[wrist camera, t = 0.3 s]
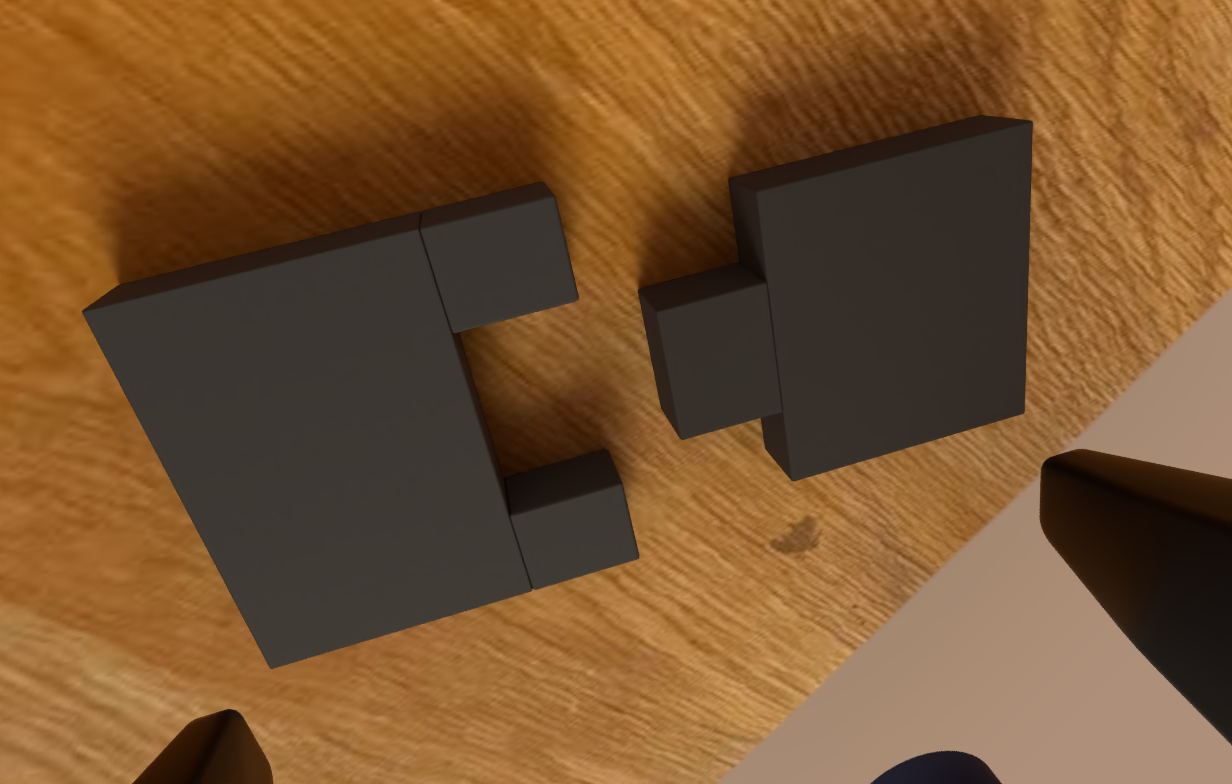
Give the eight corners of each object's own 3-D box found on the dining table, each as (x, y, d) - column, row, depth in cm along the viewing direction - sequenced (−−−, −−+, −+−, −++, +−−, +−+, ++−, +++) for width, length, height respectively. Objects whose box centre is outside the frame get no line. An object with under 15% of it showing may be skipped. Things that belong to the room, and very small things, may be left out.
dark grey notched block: (624, 520, 23) (640, 559, 21) (284, 619, 22) (269, 670, 20) (544, 180, 19) (555, 193, 17) (116, 285, 18) (79, 310, 16)
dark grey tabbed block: (981, 387, 24) (1025, 414, 22) (674, 475, 23) (694, 512, 21) (981, 114, 20) (1034, 119, 18) (620, 204, 19) (638, 219, 17)
